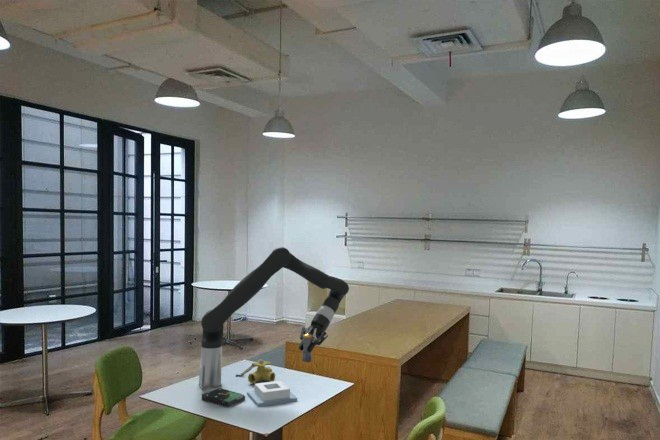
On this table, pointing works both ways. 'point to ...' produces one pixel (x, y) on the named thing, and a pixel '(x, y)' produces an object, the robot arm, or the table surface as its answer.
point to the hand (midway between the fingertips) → (304, 350)
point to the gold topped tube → (306, 342)
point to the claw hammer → (245, 371)
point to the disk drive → (223, 397)
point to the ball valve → (262, 372)
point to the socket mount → (271, 393)
